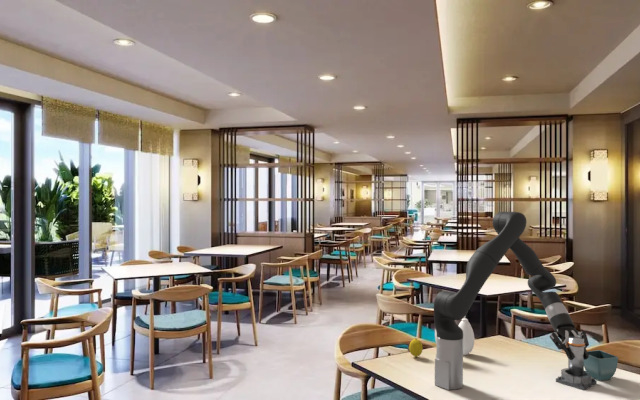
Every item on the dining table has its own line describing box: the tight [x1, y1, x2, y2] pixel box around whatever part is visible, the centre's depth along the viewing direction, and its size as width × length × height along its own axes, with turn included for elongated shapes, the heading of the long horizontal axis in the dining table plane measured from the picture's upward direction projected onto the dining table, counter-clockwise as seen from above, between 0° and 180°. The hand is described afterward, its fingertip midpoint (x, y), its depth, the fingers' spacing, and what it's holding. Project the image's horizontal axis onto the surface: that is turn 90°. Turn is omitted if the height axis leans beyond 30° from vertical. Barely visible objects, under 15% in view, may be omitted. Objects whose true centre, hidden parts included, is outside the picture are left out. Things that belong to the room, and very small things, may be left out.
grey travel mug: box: [567, 336, 585, 376], centre depth 178 cm, size 6×6×13 cm
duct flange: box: [555, 367, 598, 391], centre depth 178 cm, size 10×10×4 cm
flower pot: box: [584, 349, 619, 381], centre depth 183 cm, size 9×9×9 cm
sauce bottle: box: [457, 316, 475, 356], centre depth 210 cm, size 8×8×18 cm
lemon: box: [408, 338, 424, 358], centre depth 205 cm, size 6×6×8 cm
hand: (579, 358), depth 176 cm, fingers closed on grey travel mug, 5 cm apart
